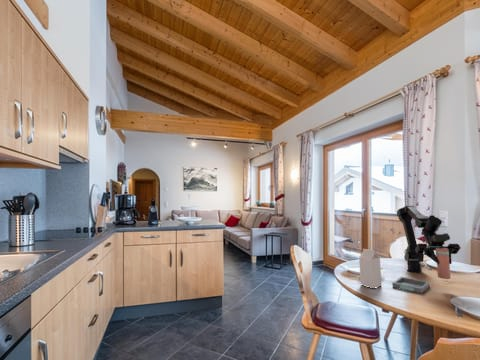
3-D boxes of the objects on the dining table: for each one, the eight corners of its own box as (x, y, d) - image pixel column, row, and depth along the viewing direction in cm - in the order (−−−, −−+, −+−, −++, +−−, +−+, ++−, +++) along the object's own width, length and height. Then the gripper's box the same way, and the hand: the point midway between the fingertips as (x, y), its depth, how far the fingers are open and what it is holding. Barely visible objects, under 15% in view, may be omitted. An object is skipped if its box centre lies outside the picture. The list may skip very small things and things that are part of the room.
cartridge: (436, 277, 130) (434, 248, 131) (439, 275, 133) (437, 247, 134) (449, 279, 126) (447, 250, 127) (451, 277, 129) (449, 248, 130)
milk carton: (372, 289, 133) (370, 251, 135) (360, 285, 140) (358, 249, 141) (381, 287, 137) (379, 250, 138) (369, 283, 143) (367, 247, 144)
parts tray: (392, 287, 135) (392, 282, 135) (401, 281, 144) (400, 276, 144) (422, 294, 126) (421, 288, 126) (429, 287, 134) (429, 282, 135)
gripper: (416, 227, 137) (428, 254, 125) (456, 227, 133) (473, 254, 122) (410, 240, 144) (421, 266, 132) (448, 240, 140) (463, 267, 129)
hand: (444, 263), depth 129 cm, fingers closed on cartridge, 5 cm apart
